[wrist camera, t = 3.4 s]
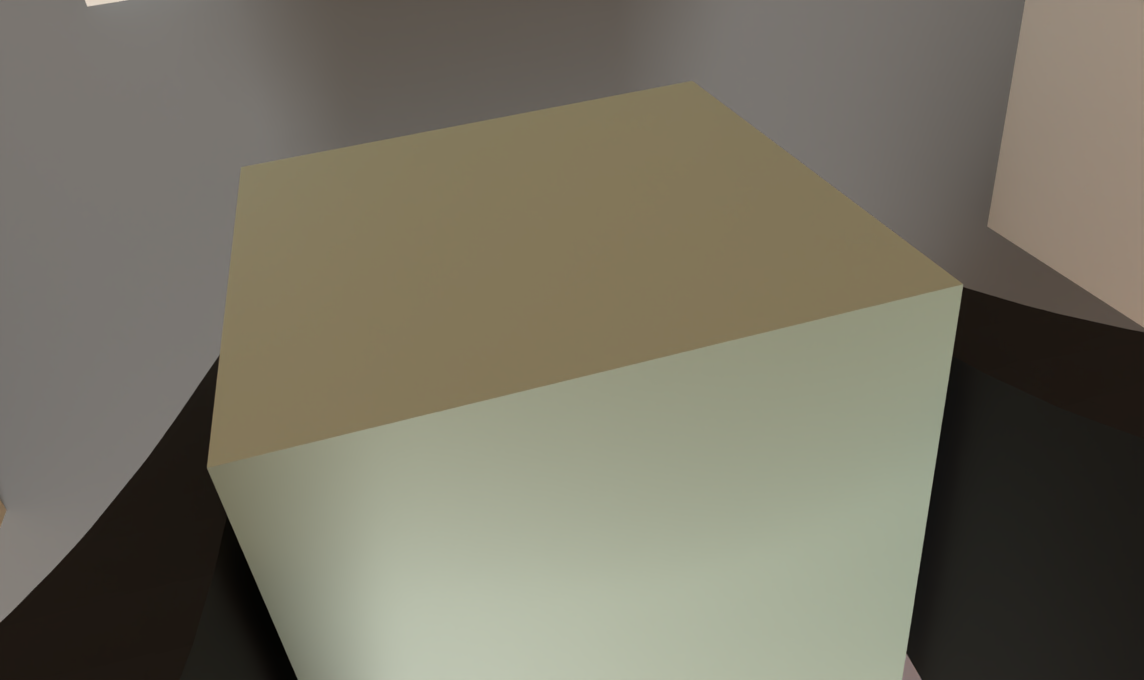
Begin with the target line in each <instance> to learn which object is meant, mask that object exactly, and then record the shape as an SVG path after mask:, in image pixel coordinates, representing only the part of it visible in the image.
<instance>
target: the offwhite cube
mask: <svg viewBox="0 0 1144 680" xmlns="http://www.w3.org/2000/svg"><path fill="white" fill-rule="evenodd" d="M987 227H989V228H990V229H992V230H994V231H995V232H997V233H998V234H1000V235H1001V236H1003V237H1004V238H1006V239H1007V240H1009V241H1011V242H1012V243H1014V244H1015V245H1017V246H1018V247H1020V248H1021V249H1023V250H1024V251H1026V252H1028V253H1029V254H1031V255H1032V256H1034V257H1035V258H1037V259H1038V260H1040V261H1042V262H1043V263H1045V264H1046V265H1048V266H1049V267H1051V268H1052V269H1054V270H1055V271H1057V272H1059V273H1060V274H1062V275H1063V276H1065V277H1066V278H1068V279H1069V280H1071V281H1072V282H1074V283H1076V284H1077V285H1079V286H1080V287H1082V288H1083V289H1085V290H1086V291H1088V292H1090V293H1091V294H1093V295H1094V296H1096V297H1097V298H1099V299H1100V300H1102V301H1103V302H1105V303H1107V304H1108V305H1110V306H1111V307H1113V308H1114V309H1116V310H1117V311H1119V312H1120V313H1122V314H1124V315H1125V316H1127V317H1128V318H1130V319H1131V320H1133V321H1134V322H1136V323H1138V324H1139V325H1141V326H1142V327H1144V0H1025V5H1024V11H1023V17H1022V23H1021V29H1020V35H1019V41H1018V47H1017V52H1016V58H1015V64H1014V70H1013V76H1012V82H1011V88H1010V94H1009V100H1008V106H1007V112H1006V118H1005V124H1004V130H1003V136H1002V141H1001V147H1000V153H999V159H998V165H997V171H996V177H995V183H994V189H993V195H992V201H991V207H990V213H989V219H988V225H987Z"/></svg>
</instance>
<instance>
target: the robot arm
mask: <svg viewBox="0 0 1144 680" xmlns="http://www.w3.org/2000/svg"><path fill="white" fill-rule="evenodd" d="M219 357H220V355H219V356H218V358H217V359H216V361H215V362H214V364H213V365H212V366H211V368H210V369H209V371H208V372H207V374H206V375H205V376H204V378H203V379H202V381H201V382H200V384H199V385H198V387H197V388H196V390H195V391H194V393H193V394H192V396H191V397H190V398H189V400H188V401H187V403H186V404H185V406H184V407H183V409H182V410H181V412H180V413H179V414H178V416H177V417H176V419H175V420H174V422H173V423H172V425H171V426H170V427H169V429H168V430H167V431H166V433H165V434H164V436H163V437H162V438H161V440H160V441H159V443H158V444H157V445H156V447H155V448H154V449H153V451H152V452H151V454H150V455H149V456H148V458H147V459H146V460H145V462H144V463H143V464H142V465H141V467H140V468H139V469H138V470H137V472H136V473H135V474H134V475H133V477H132V478H131V479H130V480H129V481H128V483H127V484H126V485H125V486H124V488H123V489H122V490H121V491H120V493H119V494H118V495H117V496H116V498H115V499H114V500H113V501H112V502H111V504H110V505H109V506H108V507H107V509H106V510H105V511H104V512H103V514H102V515H101V516H100V517H99V518H98V520H97V521H96V522H95V523H94V525H93V526H92V527H91V528H90V529H89V531H88V532H87V533H86V534H85V535H84V536H83V537H82V539H81V540H80V541H79V542H78V543H77V544H76V545H75V546H74V548H73V549H72V550H71V551H70V552H69V553H68V554H67V555H66V556H65V557H64V558H63V559H62V560H61V562H60V563H59V564H58V565H57V566H56V567H55V568H54V569H53V570H52V571H51V572H50V573H49V574H48V575H47V576H46V577H45V578H44V579H43V580H42V581H41V582H40V583H39V584H38V585H37V586H36V587H35V588H34V589H33V590H32V591H31V592H30V593H29V594H28V596H27V597H26V598H25V599H24V600H23V601H22V602H21V603H20V604H19V605H18V606H17V607H16V608H15V609H14V610H13V611H12V612H11V613H10V614H9V615H8V616H6V617H5V618H4V619H3V620H2V621H1V622H0V680H298V679H297V676H296V674H295V672H294V670H293V667H292V665H291V663H290V660H289V658H288V656H287V653H286V651H285V649H284V646H283V644H282V642H281V639H280V637H279V635H278V632H277V630H276V628H275V625H274V623H273V621H272V618H271V616H270V614H269V611H268V609H267V607H266V604H265V602H264V600H263V597H262V595H261V593H260V590H259V588H258V586H257V583H256V581H255V579H254V576H253V574H252V572H251V569H250V567H249V565H248V562H247V560H246V558H245V555H244V553H243V551H242V548H241V546H240V544H239V542H238V539H237V537H236V535H235V532H234V530H233V528H232V525H231V523H230V521H229V518H228V516H227V514H226V511H225V509H224V507H223V504H222V502H221V500H220V497H219V495H218V493H217V490H216V488H215V486H214V483H213V481H212V479H211V476H210V474H209V472H208V469H207V463H208V454H209V445H210V436H211V427H212V419H213V410H214V401H215V392H216V383H217V375H218V366H219ZM902 680H1144V332H1140V331H1135V330H1130V329H1125V328H1121V327H1116V326H1112V325H1107V324H1102V323H1098V322H1093V321H1089V320H1084V319H1080V318H1075V317H1071V316H1066V315H1062V314H1058V313H1054V312H1050V311H1046V310H1042V309H1038V308H1034V307H1030V306H1026V305H1023V304H1019V303H1016V302H1012V301H1009V300H1006V299H1002V298H999V297H995V296H992V295H989V294H985V293H982V292H978V291H975V290H972V289H968V288H965V287H963V290H962V296H961V303H960V309H959V316H958V322H957V328H956V335H955V341H954V348H953V354H952V361H951V367H950V374H949V380H948V387H947V393H946V399H945V406H944V412H943V419H942V425H941V432H940V438H939V445H938V451H937V457H936V464H935V470H934V477H933V483H932V490H931V496H930V503H929V509H928V516H927V522H926V528H925V535H924V541H923V548H922V554H921V561H920V567H919V574H918V580H917V586H916V593H915V599H914V606H913V612H912V619H911V625H910V632H909V638H908V644H907V651H906V657H905V664H904V670H903V677H902Z"/></svg>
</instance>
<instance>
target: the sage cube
mask: <svg viewBox="0 0 1144 680" xmlns="http://www.w3.org/2000/svg"><path fill="white" fill-rule="evenodd" d="M962 290H963V284H962V283H961V282H960V281H958V280H957V279H956V278H954V277H953V276H952V275H950V274H949V273H948V272H946V271H945V270H944V269H942V268H941V267H940V266H938V265H937V264H936V263H934V262H933V261H932V260H930V259H929V258H928V257H926V256H925V255H924V254H922V253H921V252H920V251H918V250H917V249H916V248H914V247H913V246H912V245H910V244H909V243H908V242H906V241H905V240H904V239H902V238H901V237H900V236H898V235H897V234H896V233H894V232H893V231H892V230H890V229H889V228H888V227H886V226H885V225H884V224H882V223H881V222H880V221H878V220H877V219H876V218H874V217H873V216H872V215H870V214H869V213H868V212H866V211H865V210H864V209H862V208H861V207H860V206H858V205H857V204H856V203H854V202H853V201H852V200H850V199H849V198H848V197H846V196H845V195H844V194H842V193H841V192H840V191H838V190H837V189H836V188H834V187H833V186H832V185H830V184H829V183H828V182H826V181H825V180H824V179H822V178H821V177H820V176H818V175H817V174H816V173H814V172H813V171H812V170H810V169H809V168H808V167H806V166H805V165H804V164H802V163H801V162H800V161H798V160H797V159H796V158H794V157H793V156H792V155H790V154H789V153H788V152H787V151H785V150H784V149H783V148H781V147H780V146H779V145H777V144H776V143H775V142H773V141H772V140H771V139H769V138H768V137H767V136H765V135H764V134H763V133H761V132H760V131H759V130H757V129H756V128H755V127H753V126H752V125H751V124H749V123H748V122H747V121H745V120H744V119H743V118H741V117H740V116H739V115H737V114H736V113H735V112H733V111H732V110H731V109H729V108H728V107H727V106H725V105H724V104H723V103H721V102H720V101H719V100H717V99H716V98H715V97H713V96H712V95H711V94H709V93H708V92H707V91H705V90H704V89H703V88H701V87H700V86H699V85H697V84H696V83H695V82H693V81H689V82H683V83H678V84H673V85H668V86H662V87H657V88H652V89H647V90H642V91H636V92H631V93H626V94H621V95H615V96H610V97H605V98H600V99H595V100H589V101H584V102H579V103H574V104H568V105H563V106H558V107H553V108H548V109H542V110H537V111H532V112H527V113H521V114H516V115H511V116H506V117H501V118H495V119H490V120H485V121H480V122H474V123H469V124H464V125H459V126H454V127H448V128H443V129H438V130H433V131H427V132H422V133H417V134H412V135H407V136H401V137H396V138H391V139H386V140H380V141H375V142H370V143H365V144H360V145H354V146H349V147H344V148H339V149H333V150H328V151H323V152H318V153H313V154H307V155H302V156H297V157H292V158H286V159H281V160H276V161H271V162H266V163H260V164H255V165H250V166H245V167H241V172H240V181H239V190H238V198H237V207H236V216H235V225H234V234H233V242H232V251H231V260H230V269H229V278H228V287H227V295H226V304H225V313H224V322H223V331H222V339H221V348H220V357H219V366H218V375H217V383H216V392H215V401H214V410H213V419H212V427H211V436H210V445H209V454H208V463H207V469H208V472H209V474H210V476H211V479H212V481H213V483H214V486H215V488H216V490H217V493H218V495H219V497H220V500H221V502H222V504H223V507H224V509H225V511H226V514H227V516H228V518H229V521H230V523H231V525H232V528H233V530H234V532H235V535H236V537H237V539H238V542H239V544H240V546H241V548H242V551H243V553H244V555H245V558H246V560H247V562H248V565H249V567H250V569H251V572H252V574H253V576H254V579H255V581H256V583H257V586H258V588H259V590H260V593H261V595H262V597H263V600H264V602H265V604H266V607H267V609H268V611H269V614H270V616H271V618H272V621H273V623H274V625H275V628H276V630H277V632H278V635H279V637H280V639H281V642H282V644H283V646H284V649H285V651H286V653H287V656H288V658H289V660H290V663H291V665H292V667H293V670H294V672H295V674H296V676H297V679H298V680H902V677H903V670H904V664H905V657H906V651H907V644H908V638H909V632H910V625H911V619H912V612H913V606H914V599H915V593H916V586H917V580H918V574H919V567H920V561H921V554H922V548H923V541H924V535H925V528H926V522H927V516H928V509H929V503H930V496H931V490H932V483H933V477H934V470H935V464H936V457H937V451H938V445H939V438H940V432H941V425H942V419H943V412H944V406H945V399H946V393H947V387H948V380H949V374H950V367H951V361H952V354H953V348H954V341H955V335H956V328H957V322H958V316H959V309H960V303H961V296H962Z"/></svg>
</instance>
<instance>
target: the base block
mask: <svg viewBox="0 0 1144 680" xmlns="http://www.w3.org/2000/svg"><path fill="white" fill-rule="evenodd" d="M6 511H7V510H6V508H5V507H4V505H3V503H2V502H1V500H0V527H1V524H2V521H3V519H4V516H5V513H6Z"/></svg>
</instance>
